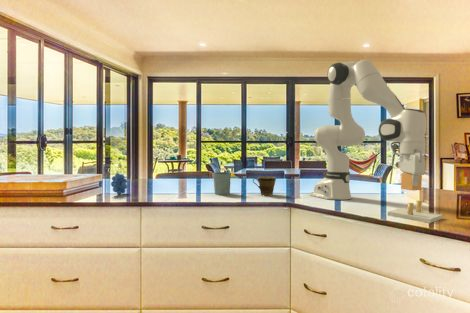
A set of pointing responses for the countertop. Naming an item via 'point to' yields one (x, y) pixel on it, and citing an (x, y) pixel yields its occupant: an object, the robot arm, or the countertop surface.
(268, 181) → the ceramic cup
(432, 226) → the countertop surface
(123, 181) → the grapes
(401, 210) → the plate
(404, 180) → the orange-brown wooden block
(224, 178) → the grey green pot
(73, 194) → the countertop surface
